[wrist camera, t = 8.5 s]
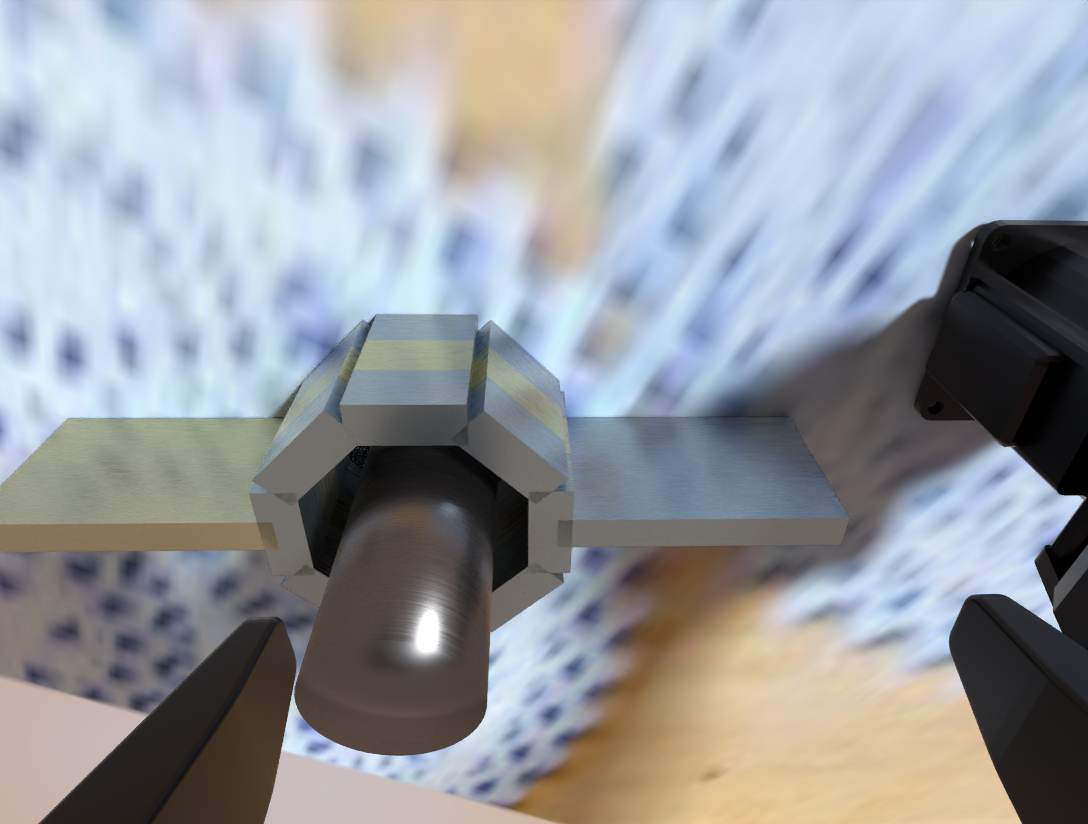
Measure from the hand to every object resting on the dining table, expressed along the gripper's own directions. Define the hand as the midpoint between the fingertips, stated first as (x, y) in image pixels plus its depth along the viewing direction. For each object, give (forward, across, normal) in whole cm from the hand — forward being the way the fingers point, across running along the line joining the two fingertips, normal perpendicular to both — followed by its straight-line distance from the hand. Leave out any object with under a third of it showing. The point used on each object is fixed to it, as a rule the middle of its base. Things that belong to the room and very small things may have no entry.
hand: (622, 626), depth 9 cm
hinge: (+13, +5, +5) cm, 15 cm away
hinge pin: (+13, +4, +6) cm, 15 cm away
